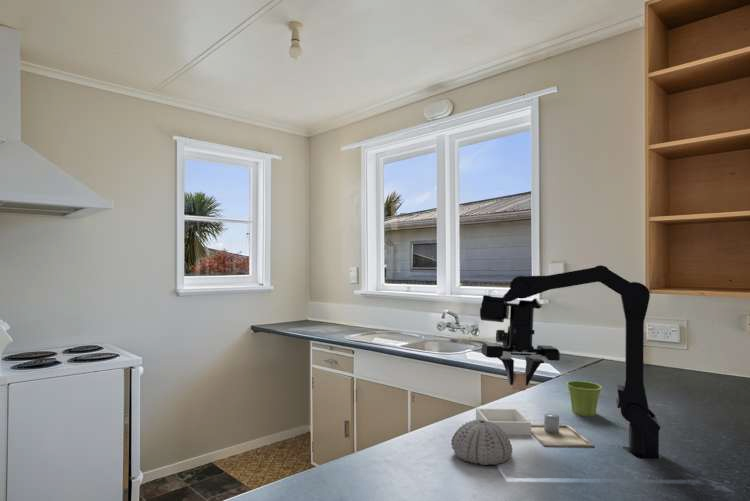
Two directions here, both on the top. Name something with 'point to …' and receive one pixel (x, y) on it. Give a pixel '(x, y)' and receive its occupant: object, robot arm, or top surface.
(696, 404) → the top surface
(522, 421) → the square storage bin
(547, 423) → the slate pebble
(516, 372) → the peach rounded cylinder
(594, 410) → the plant pot
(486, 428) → the sea urchin shell
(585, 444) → the parts tray
